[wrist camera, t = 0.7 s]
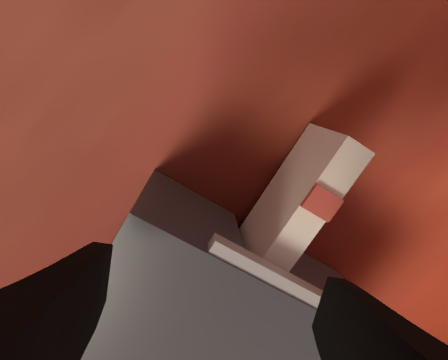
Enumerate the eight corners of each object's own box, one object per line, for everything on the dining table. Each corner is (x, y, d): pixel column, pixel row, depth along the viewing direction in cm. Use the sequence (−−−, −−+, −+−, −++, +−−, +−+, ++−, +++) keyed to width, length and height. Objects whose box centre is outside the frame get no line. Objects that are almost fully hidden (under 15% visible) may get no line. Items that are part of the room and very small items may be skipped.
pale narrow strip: (330, 136, 19) (378, 154, 14) (222, 292, 22) (229, 358, 16) (309, 122, 19) (350, 136, 14) (202, 283, 21) (203, 347, 16)
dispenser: (345, 266, 22) (409, 344, 15) (259, 378, 24) (281, 491, 17) (159, 160, 19) (137, 200, 12) (80, 298, 21) (24, 395, 15)
